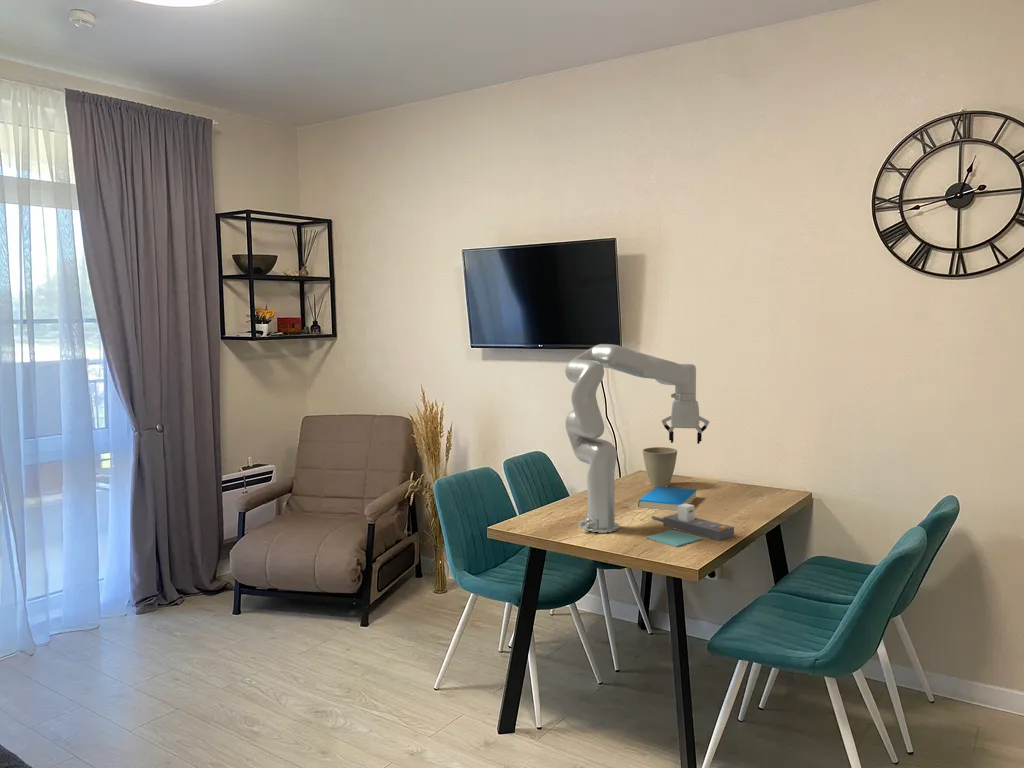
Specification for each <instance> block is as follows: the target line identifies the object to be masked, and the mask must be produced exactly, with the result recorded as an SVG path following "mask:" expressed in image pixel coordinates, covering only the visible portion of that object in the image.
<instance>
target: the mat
mask: <svg viewBox="0 0 1024 768" xmlns="http://www.w3.org/2000/svg"><path fill="white" fill-rule="evenodd" d="M645 538H646V539H647V538H649V539H648V540H650V539H652V540H651V541H654V540H656V541H655V542H657V541H659V542H658V543H660V542H662V544H664V543H665V544H664V545H667V544H668V545H667V546H671V545H672V546H671V547H674V546H675V548H678V547H677V546H679V547H682V546H686V545H688V543H689V544H693V543H695V542H698V540H699V541H701V539H702V540H703V537H702V536H698V535H697V536H696V535H695V534H691V533H687V532H686V533H685V532H684V531H682V532H681V531H680V530H676V529H675V530H674V529H669V530H665V531H663V532H659V533H655V534H651V535H648V536H646V537H645ZM685 544H686V545H685ZM681 545H682V546H681Z"/></svg>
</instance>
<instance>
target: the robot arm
mask: <svg viewBox="0 0 1024 768" xmlns="http://www.w3.org/2000/svg"><path fill="white" fill-rule="evenodd" d="M605 369H610V370H613V371H618V372H620V373H625V374H627V375H631V376H634V377H637V378H643V379H652V380H655V381H656V382H657V383H658V384H660V385H667V386H674V387H675V388H674V393H671V395H670V398H672V399H674V400H672V405H671V414H670V416H667V417H666V418H663V419H661V423H662V425H663V427H664V429H665V430H667V431H668V441H670V443H671V444H673V443H674V437H675V436H674V430H675V429H695V430H697V434H696V440H697V441H696V443H697V444H698V445H700V442H702V439H703V438H702V435H703V434H702V433H703V432H704V431H705V430H706V429H707V428H708V426H709V425H710V420H708V419H706V418H704V417H703V416H701V415H700V407H699V402H698V400H697V390H696V389H697V367H696V365H695V364H693V363H678V362H675V361H671V360H667V359H664V358H660V357H656V356H653V355H649V354H645V353H643V352H639V351H635V350H633V349H630V348H627V347H624V346H621V345H618V344H611V343H610V344H609V343H600V344H599V343H598V344H597V345H594V346H593V347H590V348H588V349H587V350H585V351H583V352H582V353H581V354H579V355H577V356H576V357H574V358H572V359H571V360H569V362H568V363H567V364H566V366H565V371H564V372H565V376H566V378H567V379H568V381H570V382H572V383H573V384H574V387H573V389H572V392H571V398H570V399H571V405H572V407H573V410H570V412H569V413H568V415H567V416H566V419H565V429H566V434H567V437H568V439H569V442H570V446H571V448H572V449H571V450H572V451H573V454H574V456H575V457H576V459H578V461H580V462H582V463H584V464H588V465H589V470H588V472H587V477H586V485H587V486H586V487H587V488H586V493H587V495H586V496H587V498H586V499H587V505H586V506H587V515H586V516H585V519H584V520H581V521H578V522H577V527H579V528H582V529H583V530H585V531H587V532H590V531H591V532H590V533H595V532H598V533H597V534H604V533H605V534H607V532H609V533H614V532H617V531H618V530H620V525H619V523H617V522H615V521H616V519H615V517H616V514H615V474H616V473H615V471H616V464H617V459H618V452H617V449H616V446H615V445H614V444H613V443H612V442H610V441H609V440H606V439H603V438H602V439H601V438H600V437H601V436H603V434H604V432H605V423H604V419H603V417H602V413H601V410H600V407H599V404H598V403H599V402H598V400H597V390H598V388H599V386H600V384H601V382H602V381H603V378H604V377H605V376H604V375H605ZM669 421H670V424H671V426H669V425H668V423H667V422H669ZM700 422H702V423H704V425H702V427H700ZM613 531H614V532H613Z"/></svg>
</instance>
